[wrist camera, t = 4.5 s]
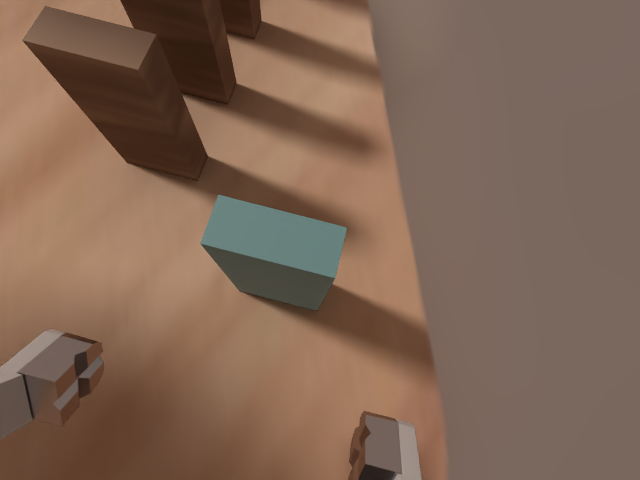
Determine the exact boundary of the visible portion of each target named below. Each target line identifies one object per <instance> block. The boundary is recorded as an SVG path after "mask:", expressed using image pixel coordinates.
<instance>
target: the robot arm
mask: <svg viewBox="0 0 640 480" xmlns="http://www.w3.org/2000/svg"><path fill="white" fill-rule="evenodd" d="M102 352H103V349H102V343H100V342H97V341H93V340H90V339H86V338H83V337H80V336H76V335H73V334H69V333H66V332H62V331H58V330H55V329H49V330H46V331H44V332H43V333H42V334H40V335H39V336H38V337H37V338H35V339H34V340H33V341H32V342H31V343H29V344H28V345H27V346H26V347H24V348H23V349H22V350H21V351H20V352H18V353H17V354H16V355H15V356H13V357H12V358H11V359H10V360H8V361H7V362H6V363H5V364H4V365H2V366H1V367H0V440H1V439H2V438H4V437H6V436H8V435H9V434H11V433H13V432H15V431H16V430H18V429H20V428H22V427H23V426H25V425H27V424H29V423H30V422H32V421H33V420H38V421H42V422H46V423H51V424H55V425H59V426H63V425H64V424H65V423H66V422H67V420H68V419H69V418H70V417H71V416H72V415H73V413H74V412H75V411H76V410H77V409H78V408H79V406H80V398H82V397H84V396H86V395H88V394H90V393H91V392H92V391H93V390H94V388H95V387H96V386H97V385H98V383H99V381H100V379H101V377H102V375H103V370H104V362H103V360H102V359H101V358H100V357H99V355H100V354H101V353H102ZM32 419H33V420H32ZM349 462H350V464H351V466H352V470H351V472H350V475H349V477H348V480H422V477H421V470H420V462H419V455H418V447H417V440H416V432H415V427H414V425H413V424H412V423H409V422H405V421H401V420H397V419H395V418H391V417H387V416H383V415H378V414H374V413H370V412H366V411H364V412H363V413H362V414H361V417H360V424H359V427H357V428H356V429H355V431H354V434H353V437H352V442H351V447H350V458H349Z"/></svg>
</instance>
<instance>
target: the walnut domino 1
mask: <svg viewBox="0 0 640 480" xmlns="http://www.w3.org/2000/svg"><path fill="white" fill-rule="evenodd" d="M23 42H24V43H25V44H26V45H27V46H28V48H29V49H30V50H31V51H32V52H33V53H34V55H35V56H36V57H37V58H38V59H39V60H40V62H41V63H42V64H43V65H44V66H45V67H46V69H47V70H48V71H49V72H50V73H51V74H52V76H53V77H54V78H55V79H56V80H57V81H58V83H59V84H60V85H61V86H62V87H63V88H64V90H65V91H66V92H67V93H68V94H69V95H70V97H71V98H72V99H73V100H74V101H75V102H76V104H77V105H78V106H79V107H80V108H81V109H82V111H83V112H84V113H85V114H86V115H87V117H88V118H89V119H90V120H91V121H92V122H93V124H94V125H95V126H96V127H97V128H98V129H99V131H100V132H101V133H102V134H103V135H104V136H105V138H106V139H107V140H108V141H109V142H110V143H111V145H112V146H113V147H114V148H115V149H116V150H117V152H118V153H119V154H120V155H121V156H122V157H123V159H124V160H125V161H126V162H127V163H131V164H134V165H138V166H142V167H146V168H150V169H154V170H158V171H162V172H166V173H170V174H174V175H177V176H181V177H185V178H189V179H193V180H197V181H198V179H199V176H200V174H201V171H202V169H203V166H204V164H205V161H206V159H207V153H206V151H205V148H204V146H203V144H202V141H201V139H200V137H199V134H198V132H197V130H196V127H195V125H194V122H193V120H192V118H191V115H190V113H189V111H188V108H187V106H186V103H185V101H184V99H183V96H182V94H181V92H180V89H179V87H178V85H177V82H176V80H175V77H174V75H173V73H172V70H171V68H170V66H169V63H168V61H167V59H166V56H165V54H164V51H163V49H162V47H161V44H160V42H159V40H158V37H157V35H156V34H153V33H149V32H145V31H141V30H137V29H133V28H129V27H126V26H122V25H118V24H114V23H110V22H106V21H102V20H98V19H94V18H90V17H86V16H82V15H78V14H74V13H70V12H66V11H63V10H59V9H55V8H51V7H47V6H45V7H44V9H43V10H42V12H41V13H40V15H39V16H38V18H37V19H36V21H35V22H34V24H33V25H32V27H31V28H30V30H29V31H28V33H27V34H26V36H25V37H24V39H23Z"/></svg>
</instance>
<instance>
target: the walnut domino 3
mask: <svg viewBox="0 0 640 480" xmlns="http://www.w3.org/2000/svg"><path fill="white" fill-rule="evenodd" d="M220 5H221V9H222V14H223V19H224V24H225V29H226V32H229V33H233V34H237V35H241V36H245V37H249V38H253V39H254V38H255V35H256V33H257V30H258V28H259V25H260V23H261V11H260V0H220Z"/></svg>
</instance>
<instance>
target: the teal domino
mask: <svg viewBox="0 0 640 480" xmlns="http://www.w3.org/2000/svg"><path fill="white" fill-rule="evenodd" d="M346 230H347V227H343V226H339V225H335V224H332V223H328V222H324V221H320V220H316V219H312V218H308V217H304V216H300V215H296V214H292V213H289V212H285V211H281V210H277V209H273V208H269V207H265V206H261V205H257V204H253V203H249V202H246V201H242V200H238V199H234V198H230V197H226V196H222V195H218V197H217V200H216V203H215V205H214V208H213V211H212V214H211V216H210V219H209V222H208V224H207V227H206V230H205V232H204V235H203V238H202V241H201V243H200V244H201V245H202V246H203V247H204V249H205V250H206V251H207V252H208V253H209V255H210V256H211V257H212V258H213V260H214V261H215V262H216V263H217V264H218V266H219V267H220V268H221V269H222V270H223V272H224V273H225V274H226V275H227V277H228V278H229V279H230V280H231V281H232V283H233V284H234V285H235V286H236V287H237V289H238V290H239V291H241V292H245V293H249V294H253V295H257V296H261V297H265V298H269V299H272V300H276V301H280V302H284V303H288V304H292V305H296V306H300V307H304V308H307V309H311V310H315V311H317V310H318V308H319V307H320V305H321V303H322V301H323V299H324V298H325V296H326V294H327V292H328V290H329V289H330V287H331V285H332V283H333V281H334V279H335V277H336V273H337V268H338V264H339V260H340V256H341V251H342V247H343V243H344V239H345V234H346Z"/></svg>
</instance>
